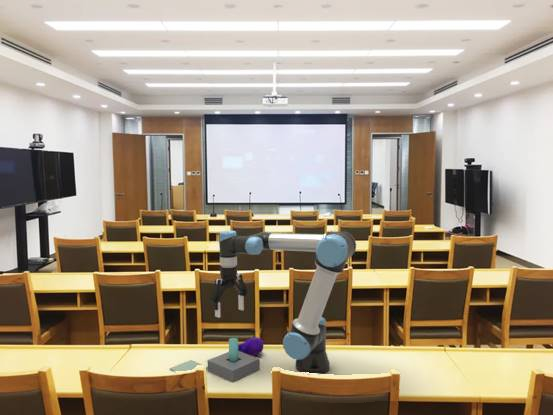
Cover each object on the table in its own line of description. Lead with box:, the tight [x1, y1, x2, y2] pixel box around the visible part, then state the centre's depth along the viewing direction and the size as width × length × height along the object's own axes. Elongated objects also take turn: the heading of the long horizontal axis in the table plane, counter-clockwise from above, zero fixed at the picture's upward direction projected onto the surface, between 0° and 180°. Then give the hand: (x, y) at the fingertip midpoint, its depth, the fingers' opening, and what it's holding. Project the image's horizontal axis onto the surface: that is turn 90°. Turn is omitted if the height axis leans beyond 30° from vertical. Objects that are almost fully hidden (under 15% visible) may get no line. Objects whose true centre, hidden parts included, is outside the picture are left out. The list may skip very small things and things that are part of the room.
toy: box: [238, 336, 264, 357], centre depth 222 cm, size 9×10×15 cm
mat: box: [169, 359, 208, 372], centre depth 207 cm, size 12×12×1 cm
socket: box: [207, 351, 261, 383], centre depth 205 cm, size 16×16×5 cm
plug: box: [228, 337, 239, 363], centre depth 205 cm, size 4×4×14 cm
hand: (229, 313), depth 208 cm, fingers open, 13 cm apart
